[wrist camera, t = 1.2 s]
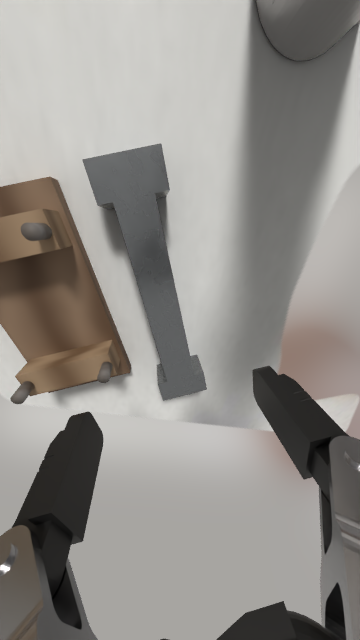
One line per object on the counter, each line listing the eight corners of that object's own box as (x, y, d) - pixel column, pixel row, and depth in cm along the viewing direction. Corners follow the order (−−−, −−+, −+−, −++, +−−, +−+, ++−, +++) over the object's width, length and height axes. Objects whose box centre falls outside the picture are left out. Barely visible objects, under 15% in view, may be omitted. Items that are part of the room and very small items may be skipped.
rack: (57, 180, 18) (13, 158, 12) (130, 365, 28) (126, 402, 22) (-66, 205, 18) (-172, 196, 12) (53, 384, 27) (27, 427, 22)
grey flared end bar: (158, 159, 18) (161, 143, 15) (200, 370, 30) (206, 389, 26) (95, 172, 18) (82, 159, 15) (161, 379, 30) (163, 400, 26)
